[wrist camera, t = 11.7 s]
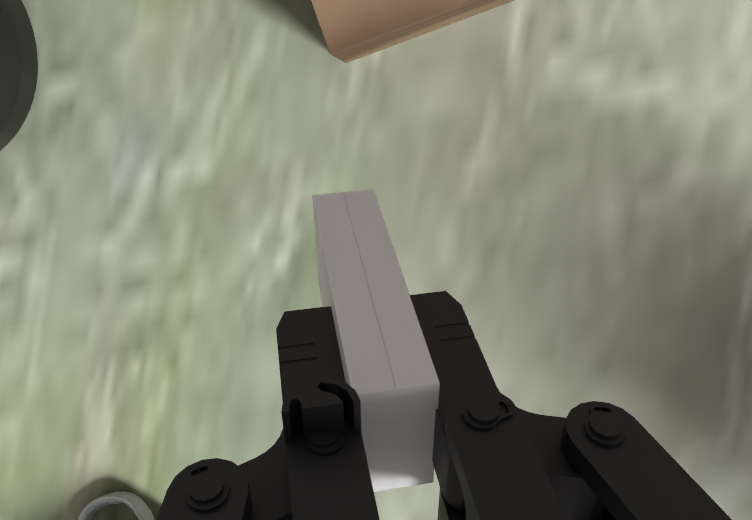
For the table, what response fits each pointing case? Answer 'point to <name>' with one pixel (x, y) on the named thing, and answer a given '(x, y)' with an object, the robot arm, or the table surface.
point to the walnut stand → (387, 21)
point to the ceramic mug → (116, 497)
